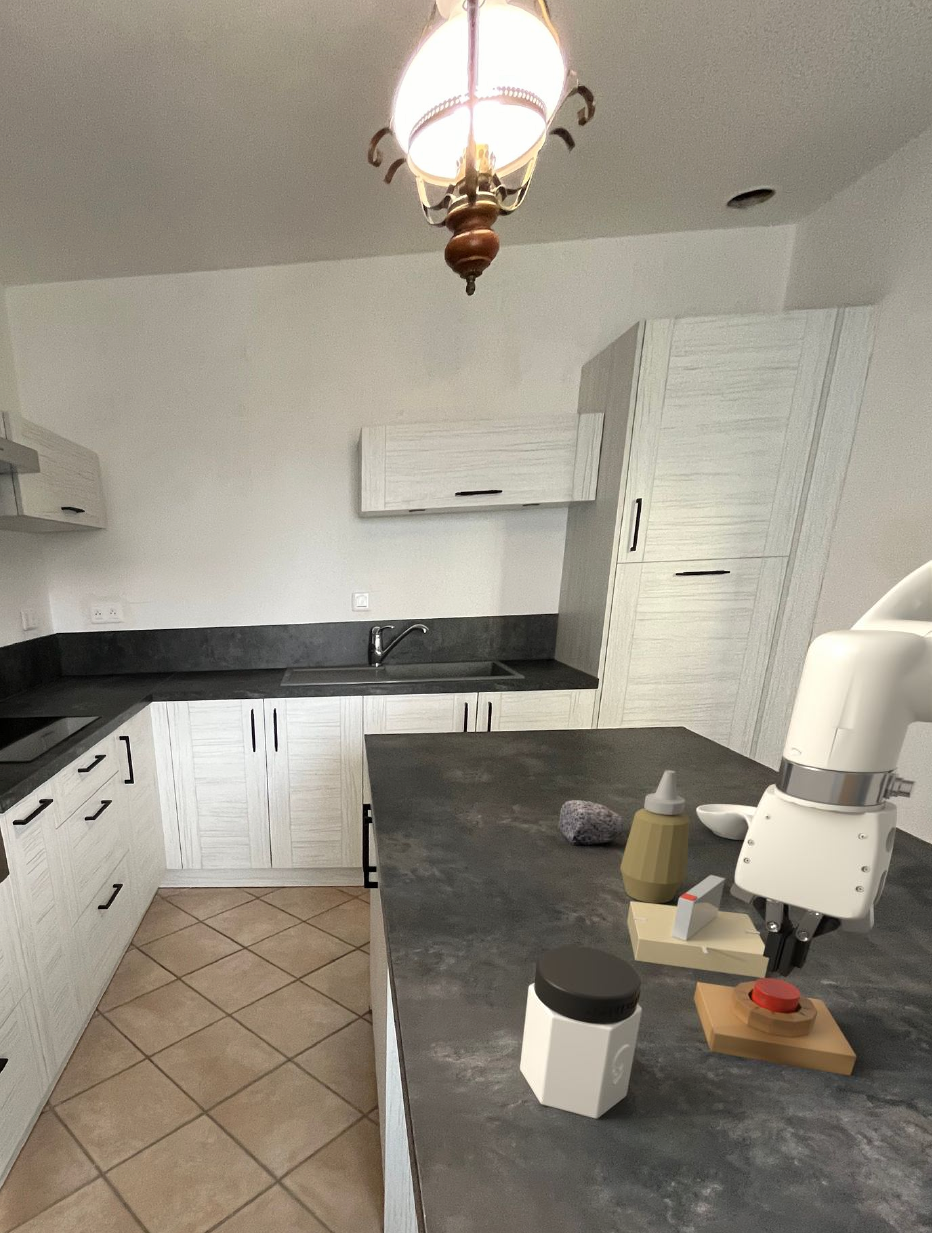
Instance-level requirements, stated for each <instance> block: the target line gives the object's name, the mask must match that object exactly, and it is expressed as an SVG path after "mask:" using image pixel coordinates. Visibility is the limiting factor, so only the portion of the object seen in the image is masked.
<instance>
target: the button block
mask: <svg viewBox="0 0 932 1233" xmlns="http://www.w3.org/2000/svg"><path fill="white" fill-rule="evenodd" d="M755 982H756V980H751V981H744V982H739V983H738V984H737V985H736V986H729V985H722V984H715V983H707V982H701V981H697V982H696V987H695V991H694V996H693V1001H694V1004H695V1007H696V1010H697V1013H698V1016H699V1019H700V1023H701V1025H702V1029H703V1032H704V1035H705V1039H706V1041H707V1044H708V1047H709V1050H710V1052H711V1053H716V1054H723V1055H729V1056H735V1057H739V1058H740V1057H741V1058H746V1059H752V1060H757V1061H764V1062H768V1063H769V1062H770V1063H775V1064H781V1065H787V1066H793V1067H798V1068H802V1069H803V1068H805V1069H810V1070H816V1071H822V1072H827V1073H833V1074H839V1075H845V1076H851V1075H852V1072H853V1069H854V1066H855V1063H856V1060H857V1055H856V1052H855V1051H854V1050H853V1048H852V1046H851V1045H850V1043H849V1041H848V1040H847V1038H846V1036H845V1035H844V1033H843V1031H842V1030H841V1028H840V1027H839V1025H838V1023H837V1022H836V1020H835V1019H834V1017H833V1015H832V1014H831V1012H830V1011H829V1008H828V1007H827V1005H826V1004H825V1002H824V1001H823V999H819V998H813V997H812V998H811V997H806V996H805V995H803V994H801V995H800V999H799V1003H798V1006H797V1010H796V1012H795V1013H790V1014H785V1013H778V1012H773V1011H770V1010H767V1009H765V1008H762V1007H760V1006H758V1005H757V1004H756V1003H754V1002H753V1001H752V999H751V997H752V993H753V989H754V985H755Z"/></svg>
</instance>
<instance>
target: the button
mask: <svg viewBox="0 0 932 1233" xmlns="http://www.w3.org/2000/svg"><path fill="white" fill-rule="evenodd" d="M755 981H756V982H755V985H754V989H753V993H752V997H751V999H752V1001H753V1002H754V1003H756V1004H757V1005H758V1006H760V1007H762V1008H765V1009H767V1010H770V1011H773V1012H778V1013H785V1014H790V1013H795V1012H796V1010H797V1006H798V1003H799V999H800V995H802V994H801V991H800V990H799V989H798V988H797V987H796V986H795V985H793V984H791V983H789V982H787V981H785V980H782V979H778V978H771V977H765V978H758V979H756V980H755Z"/></svg>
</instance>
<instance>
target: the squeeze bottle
mask: <svg viewBox="0 0 932 1233" xmlns="http://www.w3.org/2000/svg"><path fill="white" fill-rule="evenodd" d="M676 779H677V778H676V771H675V770H670V769H669V770H668V769H666V770H664V772H663V775H662V777H661V779H660V781H659V784H658V787H657V788H656V790H655V792H653V793H649V794H646V796H645V799H644V803H643V807H644V808H641V809H639V810H637V811H636V812H635V814H634V817H633V820H632V824H631V826H630V827H631V828H630V830H629V834H628V838H627V842H626V844H625V849H624V852H623V856H622V859H621V864H620V868H619V869H620V872H621V877H622V880H623V885H624V886H623V887H624V890H625V891H624V892H626V894H627V895H628V896H629V897H630V898H632V899H635V900H638V901H639V902H643V903H651V904H666V903H668V902H671V901H672V900H673V898H674V897H675V895H676V893H677V892H678V890H679V889H680V887H681V886H682V884H683V883H684V881H685V879H686V878H687V872H688V870H687V869H688V868H687V867H688V856H689V855H688V853H689V840H690V824H691V819H690V817H688V815H687V814H685V813H684V810H685V806H686V799H685V798H684V797H682V796H680V795H678V790H677V780H676Z"/></svg>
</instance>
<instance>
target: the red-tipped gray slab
mask: <svg viewBox="0 0 932 1233" xmlns="http://www.w3.org/2000/svg"><path fill="white" fill-rule="evenodd" d="M725 881H726V878H725V877H720V876H717V875H713V874H710V875H708V876H707V877H705V878H704V879H702V880H701V881H700V882H699V883H697V884H696V885H695V886H693V887H692V888H690V889H689V890H687V891H686V892H684V893H683V894H682V895H680V896H679V897H678V901H677V905H676V906H677V911H676V916H675V921H674V927H673V932H672V936H673V937H676V938H679V939H682V940H685V941H687V940H688V939H689V938H690V937H691V936H693V935H694V934H695V933H696V932H698V931H699V930H700V929H701V928H702V927H704V926H705V925H706V924H707V923H709V922H710V921H711V920H712V919H713V918H715V917H716V916H717V914H718V911H719V909H720V905H721V900H722V896H723V892H724V891H723V890H724V886H725Z"/></svg>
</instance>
